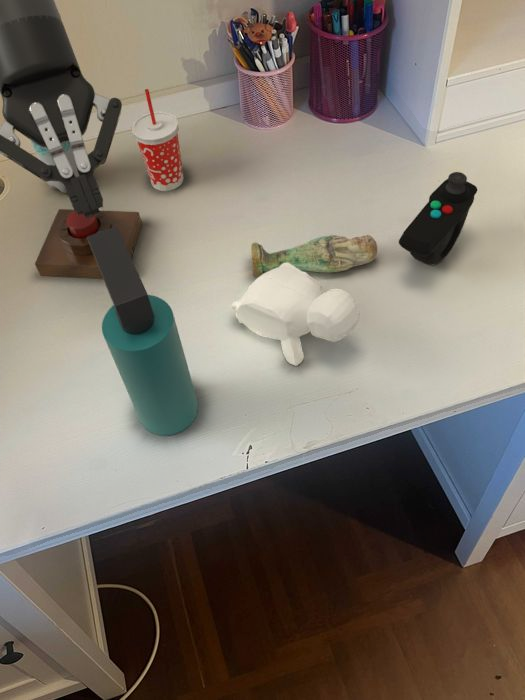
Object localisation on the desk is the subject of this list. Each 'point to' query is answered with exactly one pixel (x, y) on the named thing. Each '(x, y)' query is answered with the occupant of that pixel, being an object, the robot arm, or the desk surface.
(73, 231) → the button
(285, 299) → the penguin
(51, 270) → the button box
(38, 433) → the desk surface
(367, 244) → the figurine
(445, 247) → the controller
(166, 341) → the spray bottle
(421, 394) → the desk surface
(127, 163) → the desk surface
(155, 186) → the beverage cup
